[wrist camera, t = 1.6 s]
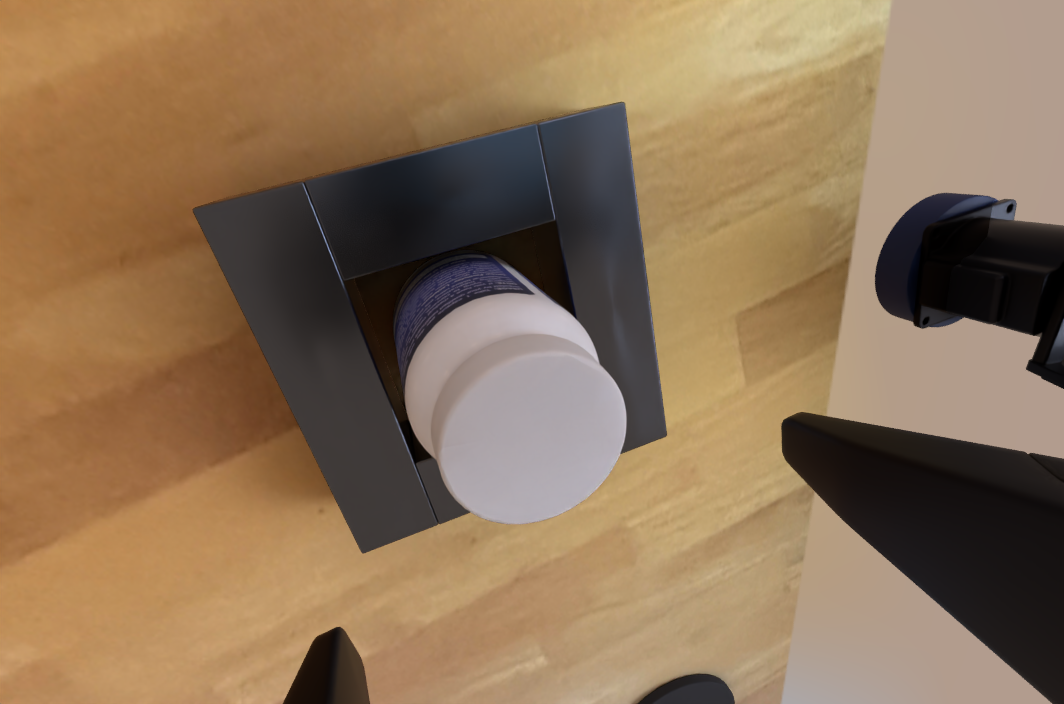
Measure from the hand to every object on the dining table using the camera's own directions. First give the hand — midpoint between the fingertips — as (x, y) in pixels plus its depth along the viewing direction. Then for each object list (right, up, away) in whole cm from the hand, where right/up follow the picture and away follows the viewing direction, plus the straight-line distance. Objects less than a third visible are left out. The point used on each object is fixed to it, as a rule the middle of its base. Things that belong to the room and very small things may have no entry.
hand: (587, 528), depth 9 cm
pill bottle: (-4, +5, +11) cm, 13 cm away
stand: (-4, +5, +11) cm, 13 cm away
